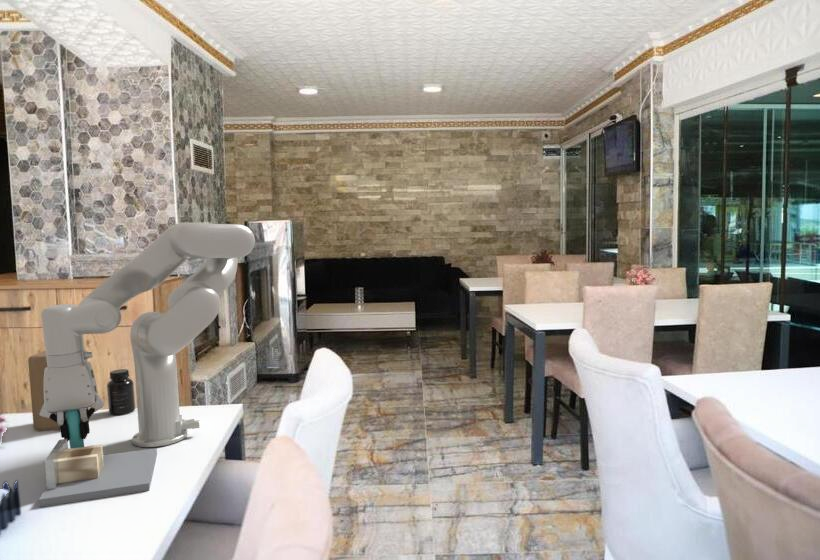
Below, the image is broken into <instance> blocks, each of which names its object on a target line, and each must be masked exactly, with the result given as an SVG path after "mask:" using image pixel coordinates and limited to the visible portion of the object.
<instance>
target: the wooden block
mask: <svg viewBox="0 0 820 560" xmlns="http://www.w3.org/2000/svg"><path fill="white" fill-rule="evenodd" d="M27 363H28V365H27V366H28V373H29V374H28V376H29V387H30V400H31V411H32V413H31V414H32V422H33V423H32V425H33V429H34V431H57V430H58V431H61V430H60V425H58V424H57V423H56V422H55V421H53V420H52V419H50V418H47V417H43V416H40V411H41V409H42V406H43V404H44V370H45V368H46V367H48V366H47V359H46V350H45V349H44V350H43V351H41V352H40V351H39V352H38V353H35V354H33V355H30V356H29V357H28V360H27ZM56 413H57V412H56ZM66 419H67V418H66Z"/></svg>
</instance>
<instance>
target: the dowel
mask: <svg viewBox="0 0 820 560" xmlns="http://www.w3.org/2000/svg"><path fill="white" fill-rule="evenodd" d="M66 418H67V426H68V434H69V441H68V443H69V449H71V448H79V447H85V439H81V432H80V422H81V414H80V410H79V409H76V410H69V411H66Z"/></svg>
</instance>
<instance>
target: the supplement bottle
mask: <svg viewBox="0 0 820 560" xmlns="http://www.w3.org/2000/svg"><path fill="white" fill-rule="evenodd" d="M129 372H130V371H129V369H125V368H124V369H122V368H120V369H115V370H111V371H110V372H109V379H110V381H108V382H107V384H106V393H107V404H108V413H109V414H110V415H111V416H123V415H124V416H125V415H128V414H131V413H133V412H134V411H135V410H136V400H135V387H134V386H135V384H134V381H133V379H131V378H130V374H129Z"/></svg>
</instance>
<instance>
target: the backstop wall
mask: <svg viewBox="0 0 820 560" xmlns="http://www.w3.org/2000/svg"><path fill="white" fill-rule="evenodd" d="M65 449H69V441H67V439H64V438H62V439H59V440H58V441H57V442H56V444H55V446H54V447H53V448H52V449H51V451H50V452H49V453H48V455H47V457H46V458H45V460H44V467H45V479H46V487H47V490H52V489H56V488H57V486H58V485H59V477H58V464H57V461H58V460H59V458H60V457H61V455H62V453H63V452H64V450H65Z"/></svg>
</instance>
